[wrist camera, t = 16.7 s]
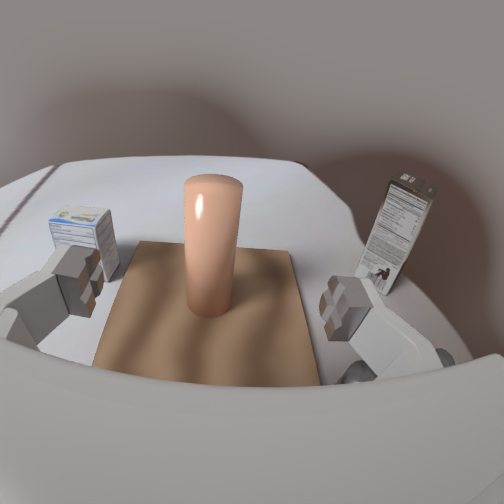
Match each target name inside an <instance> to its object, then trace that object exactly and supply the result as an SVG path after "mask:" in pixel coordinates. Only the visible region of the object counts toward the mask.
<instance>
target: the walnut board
mask: <svg viewBox="0 0 504 504" xmlns="http://www.w3.org/2000/svg"><path fill="white" fill-rule="evenodd" d="M92 367H96V368H101V369H105V370H110V371H115V372H120V373H125V374H130V375H136V376H141V377H147V378H154V379H161V380H168V381H176V382H185V383H194V384H205V385H218V386H236V387H307V386H321V384H320V380H319V375H318V371H317V366H316V362H315V357H314V353H313V349H312V344H311V340H310V336H309V332H308V327H307V323H306V319H305V315H304V311H303V307H302V303H301V299H300V295H299V291H298V287H297V283H296V279H295V276H294V272H293V268H292V264H291V260H290V257H289V253H288V251H281V250H267V249H253V248H238V247H236V255H235V264H234V274H233V284H232V293H231V303H230V307H229V309H228V310H227V311H226V312H225V313H224V314H222V315H220V316H218V317H214V318H205V317H201V316H198V315H196V314H194V313H193V312H192V311H191V310H190V309H189V308H188V305H187V297H186V277H185V248H184V244H180V243H165V242H150V241H140V242H139V244H138V246H137V248H136V250H135V253H134V255H133V257H132V259H131V262H130V264H129V266H128V268H127V271H126V273H125V275H124V278H123V280H122V283H121V285H120V288H119V290H118V292H117V295H116V298H115V300H114V303H113V305H112V308H111V311H110V313H109V316H108V319H107V321H106V324H105V327H104V330H103V333H102V336H101V338H100V341H99V344H98V347H97V351H96V354H95V357H94V360H93V363H92Z"/></svg>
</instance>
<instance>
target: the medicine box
mask: <svg viewBox="0 0 504 504" xmlns="http://www.w3.org/2000/svg"><path fill="white" fill-rule="evenodd" d="M48 225H49V229H50V232H51V236H52V239H53V243H54V246H55V249H56V248H57V247H58V246H59V244H62V243H65V244H71V245H78V246H85V247H91V248H97V249H98V250H99V251H100V256H101V260H100V262H99V263H98V264H99V265H100V266H101V267H102V268H103V272H104V281H106V282H108V281H109V280H110V278H111V276H112V275H113V273H114V271H115V270H116V268H117V266H118V265H119V263H120V260H119V255H118V250H117V245H116V240H115V235H114V229H113V223H112V217H111V210H110V209H105V208H95V207H83V206H68V205H66V206H64V207H63V208H61V209H60V210H59V211H58V212H57V213H56V214H55V215H53V217H52V218H51V219H50V220H49V221H48Z"/></svg>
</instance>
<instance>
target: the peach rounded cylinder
mask: <svg viewBox="0 0 504 504" xmlns="http://www.w3.org/2000/svg"><path fill="white" fill-rule="evenodd" d="M242 192H243V184H242V183H241V182H240V181H239V180H237V179H235V178H232V177H229V176H225V175H219V174H203V175H197V176H193V177H191V178H189V179H187V180H186V181H185V183H184V248H185V277H186V297H187V305H188V308H189V309H190V310H191V311H192V312H193V313H194V314H196V315H198V316H201V317H205V318H214V317H218V316H220V315H222V314H224V313H225V312H226V311H227V310H228V309H229V307H230V303H231V293H232V284H233V274H234V264H235V255H236V246H237V236H238V227H239V218H240V210H241V201H242Z"/></svg>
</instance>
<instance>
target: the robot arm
mask: <svg viewBox="0 0 504 504" xmlns="http://www.w3.org/2000/svg"><path fill="white" fill-rule="evenodd" d="M100 260H101V256H100V251H99V250H98V249H97V248H91V247H85V246H78V245H71V244H65V243H62V244H59V246H58V247H57V248H56V250H55V251H54V252H53V254H52V255H51V257H50V258H49V259H48V261H47V262H46V264H45V265H44V267H43V268H42V269H41V271H36V272H34V273H32V274H31V275H29V276H27V277H26V278H24V279H22V280H20V281H19V282H17V283H15V284H14V285H12V286H11V287H9V288H7V289H6V290H4V291H2V292H1V293H0V504H504V358H503V357H502V356H501V355H499V354H490V355H487V356H484V357H481V358H478V359H474V360H471V361H467V362H464V363H460V364H456V365H453V366H449V367H445V368H443V365H442V363H441V361H440V359H439V357H438V355H437V353H436V351H435V349H434V347H433V345H432V343H431V342H430V341H428V340H427V339H426V338H425V337H424V336H422V335H421V334H420V333H419V332H418V331H416V330H415V329H414V328H413V327H411V326H410V325H409V324H408V323H407V322H405V321H404V320H403V319H402V318H400V317H399V316H398V315H397V314H395V313H394V312H393V311H392V310H391V309H389V308H386V307H385V305H384V303H383V302H382V300H381V298H380V296H379V294H378V292H377V290H376V288H375V286H374V285H373V283H372V281H371V280H370V279H369V278H362V277H345V276H332V277H331V278H330V279H329V281H328V287H329V289H328V290H326V291H325V292H324V293H323V294H322V297H321V299H320V305H319V310H320V315H321V318H322V319H323V320H325V321H326V324H325V326H324V328H325V332H326V335H327V338H328V341H349V342H348V343H349V344H350V345H351V346H352V347H353V348H354V350H355V351H356V352H357V353H358V354H359V355H360V356H361V358H362V359H363V360H364V361H365V362H366V363H367V364H368V366H369V367H370V368H371V369H372V370H373V371H374V372H375V374H376V375H377V377H376V378H375V379H374V380H373V381H367V382H358V383H349V384H338V385H325V386H307V387H236V386H218V385H205V384H194V383H185V382H176V381H168V380H161V379H154V378H147V377H141V376H136V375H130V374H125V373H120V372H115V371H110V370H105V369H101V368H96V367H92V366H88V365H84V364H80V363H76V362H73V361H69V360H66V359H62V358H59V357H55V356H52V355H49V354H46V353H43V352H41V351H40V350H39V348H38V347H37V345H38V344H39V343H40V342H41V341H42V340H43V339H44V338H45V337H46V336H47V335H49V334H50V333H51V332H52V331H53V330H54V329H55V328H56V327H57V326H58V325H60V324H61V323H62V322H63V321H64V320H65V319H66V318H67V317H69V316H70V315H69V314H71V315H76V316H81V317H87V318H90V317H91V315H92V312H93V310H94V307H95V305H96V302H95V298H96V297H97V296H99V295H100V293H101V291H102V289H103V283H104V272H103V268H102V267H101V266H100V265H99V264H98V263H99V262H100Z"/></svg>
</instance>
